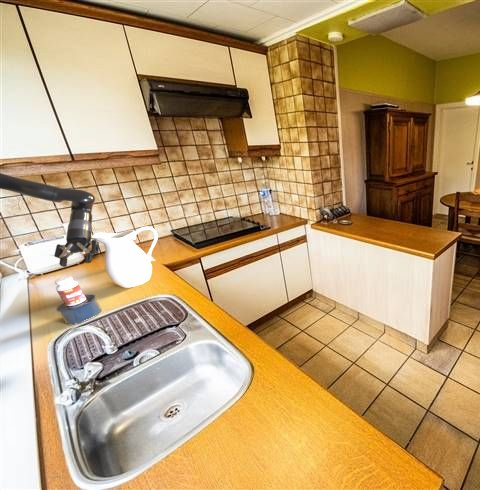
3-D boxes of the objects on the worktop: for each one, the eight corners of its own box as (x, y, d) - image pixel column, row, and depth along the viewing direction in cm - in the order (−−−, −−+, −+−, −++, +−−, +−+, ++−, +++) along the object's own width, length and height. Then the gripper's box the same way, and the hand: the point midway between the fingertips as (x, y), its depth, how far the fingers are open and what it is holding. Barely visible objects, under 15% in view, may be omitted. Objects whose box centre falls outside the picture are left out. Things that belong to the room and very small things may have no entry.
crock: (62, 329, 105) (53, 315, 102) (67, 315, 113) (59, 302, 110) (101, 316, 111) (93, 302, 109) (104, 304, 120) (96, 291, 117)
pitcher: (113, 295, 125) (86, 240, 115) (116, 282, 138) (92, 231, 127) (173, 278, 139) (154, 227, 128) (170, 267, 151) (153, 220, 141)
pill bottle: (71, 307, 106) (57, 284, 102) (62, 305, 108) (47, 282, 103) (90, 298, 111) (77, 276, 107) (81, 296, 113) (68, 274, 109)
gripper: (52, 230, 116) (47, 264, 110) (92, 225, 120) (89, 258, 114) (66, 237, 122) (62, 270, 117) (104, 232, 126) (101, 264, 121)
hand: (75, 264), depth 116 cm, fingers open, 8 cm apart
